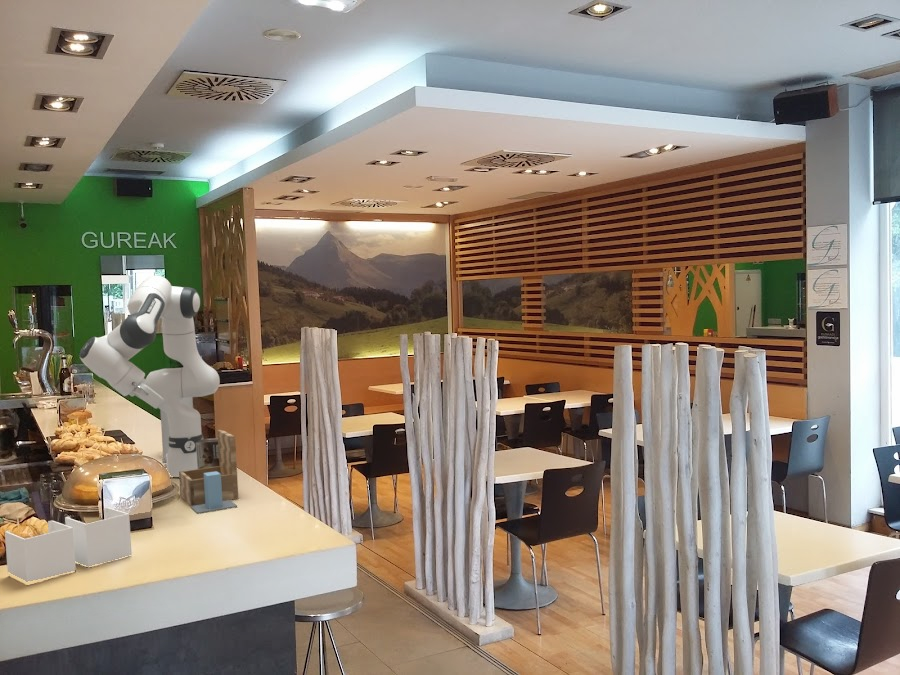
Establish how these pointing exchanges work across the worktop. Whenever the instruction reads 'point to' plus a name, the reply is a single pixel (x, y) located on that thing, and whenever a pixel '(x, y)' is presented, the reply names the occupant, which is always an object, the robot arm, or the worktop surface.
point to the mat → (204, 508)
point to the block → (213, 489)
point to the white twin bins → (69, 546)
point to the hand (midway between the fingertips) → (166, 410)
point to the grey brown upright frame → (207, 453)
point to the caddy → (227, 468)
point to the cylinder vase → (165, 425)
